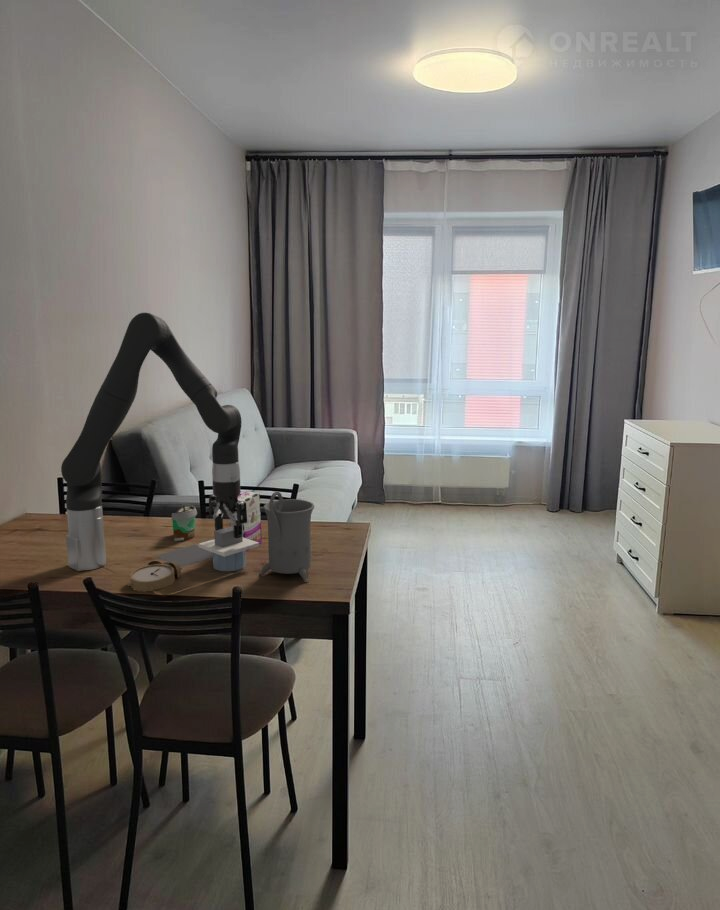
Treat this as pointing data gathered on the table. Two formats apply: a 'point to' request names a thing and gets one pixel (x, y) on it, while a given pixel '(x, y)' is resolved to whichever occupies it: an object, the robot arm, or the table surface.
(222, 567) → the bowl
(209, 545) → the lid
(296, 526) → the grey footed pot
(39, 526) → the table surface
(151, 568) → the alarm clock
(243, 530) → the candy bar box
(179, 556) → the mat
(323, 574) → the table surface
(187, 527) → the food container
